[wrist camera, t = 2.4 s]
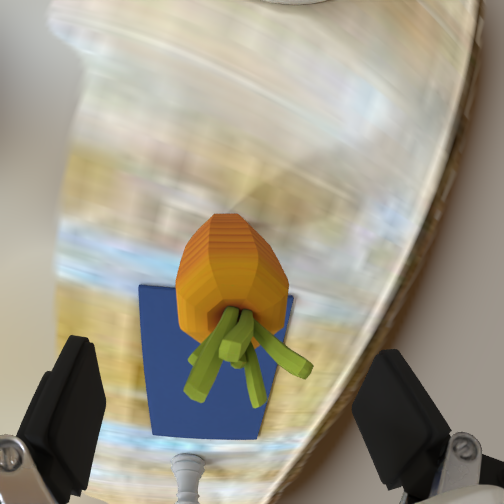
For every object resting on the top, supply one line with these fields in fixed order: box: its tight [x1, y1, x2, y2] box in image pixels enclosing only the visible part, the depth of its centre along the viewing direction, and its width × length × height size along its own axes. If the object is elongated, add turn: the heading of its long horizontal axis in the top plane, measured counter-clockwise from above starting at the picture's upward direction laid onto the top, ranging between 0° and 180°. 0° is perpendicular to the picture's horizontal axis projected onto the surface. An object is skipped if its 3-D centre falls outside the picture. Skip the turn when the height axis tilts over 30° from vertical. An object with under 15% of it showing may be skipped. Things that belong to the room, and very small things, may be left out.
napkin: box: [139, 285, 294, 440], centre depth 28 cm, size 20×12×1 cm, turn 172°
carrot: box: [176, 214, 313, 408], centre depth 16 cm, size 5×5×15 cm
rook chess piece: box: [171, 454, 205, 504], centre depth 31 cm, size 4×4×8 cm
